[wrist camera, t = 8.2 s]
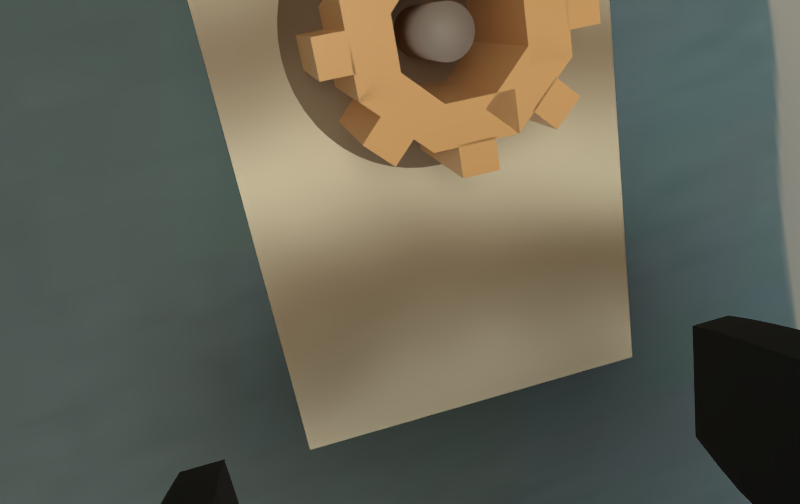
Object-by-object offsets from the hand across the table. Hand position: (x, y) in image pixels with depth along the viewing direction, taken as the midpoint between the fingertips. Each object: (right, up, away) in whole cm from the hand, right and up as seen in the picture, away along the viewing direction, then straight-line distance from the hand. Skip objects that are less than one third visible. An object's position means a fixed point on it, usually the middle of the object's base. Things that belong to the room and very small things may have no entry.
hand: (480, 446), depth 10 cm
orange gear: (-1, +8, +6) cm, 10 cm away
